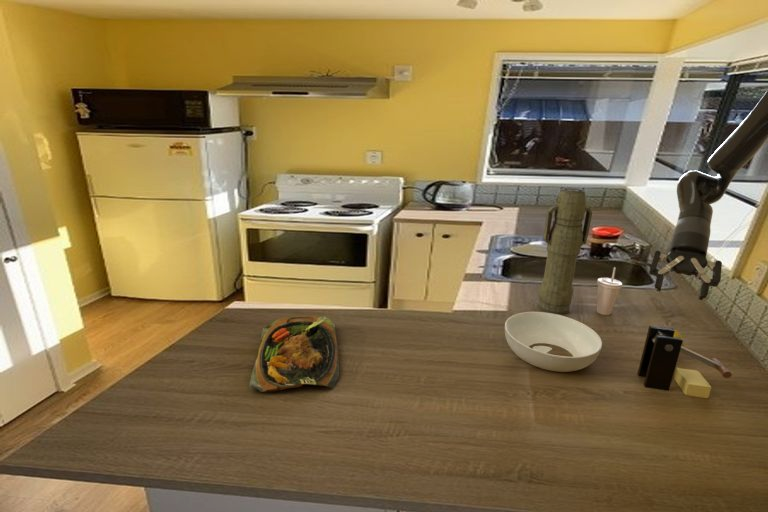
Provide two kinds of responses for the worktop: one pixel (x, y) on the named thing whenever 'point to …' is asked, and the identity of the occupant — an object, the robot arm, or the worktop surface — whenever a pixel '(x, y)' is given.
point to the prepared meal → (296, 354)
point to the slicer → (659, 358)
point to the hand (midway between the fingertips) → (679, 294)
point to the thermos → (563, 249)
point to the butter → (692, 382)
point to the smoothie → (607, 294)
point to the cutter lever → (702, 358)
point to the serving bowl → (552, 340)
